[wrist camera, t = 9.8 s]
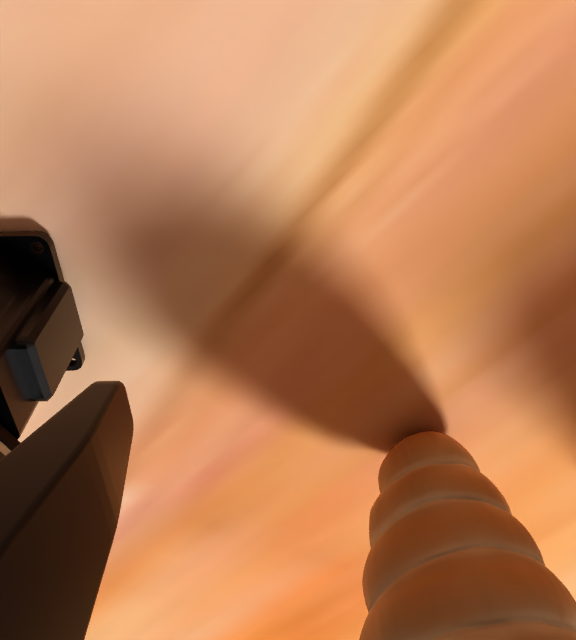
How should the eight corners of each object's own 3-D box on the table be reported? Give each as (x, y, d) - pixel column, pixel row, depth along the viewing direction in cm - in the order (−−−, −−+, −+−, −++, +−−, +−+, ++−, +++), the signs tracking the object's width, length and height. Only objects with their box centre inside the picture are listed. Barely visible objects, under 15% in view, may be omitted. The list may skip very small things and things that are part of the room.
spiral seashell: (322, 487, 29) (369, 1030, 15) (351, 377, 25) (461, 991, 10) (476, 499, 30) (670, 1025, 15) (530, 395, 26) (874, 987, 11)
